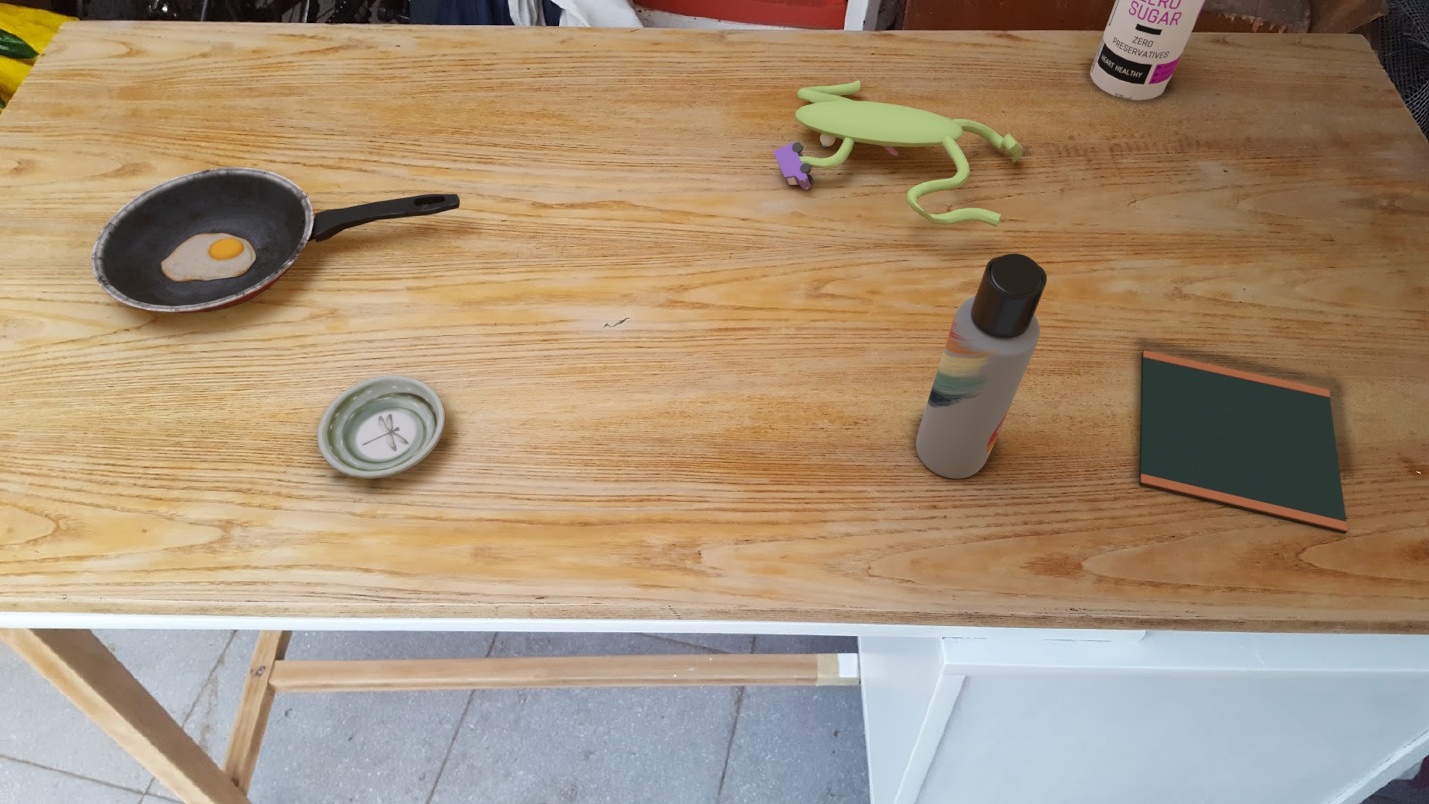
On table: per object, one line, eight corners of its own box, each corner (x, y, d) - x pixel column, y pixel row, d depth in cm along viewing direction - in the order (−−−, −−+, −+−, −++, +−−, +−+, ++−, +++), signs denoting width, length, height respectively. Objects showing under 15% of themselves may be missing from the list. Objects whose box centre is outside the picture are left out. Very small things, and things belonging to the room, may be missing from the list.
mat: (1326, 393, 79) (1329, 389, 79) (1344, 533, 71) (1348, 530, 71) (1141, 353, 82) (1143, 349, 81) (1138, 485, 73) (1141, 481, 73)
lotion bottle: (990, 430, 76) (1066, 248, 61) (982, 488, 73) (1061, 310, 57) (919, 415, 77) (977, 231, 61) (909, 471, 74) (967, 291, 58)
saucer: (302, 439, 75) (292, 421, 73) (406, 374, 79) (399, 355, 77) (369, 515, 71) (359, 498, 69) (475, 442, 75) (469, 423, 73)
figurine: (971, 277, 87) (985, 232, 83) (729, 169, 96) (731, 123, 92) (1047, 171, 96) (1064, 125, 92) (821, 82, 105) (826, 36, 101)
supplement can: (1148, 65, 108) (1204, -66, 96) (1172, 109, 103) (1233, -24, 91) (1078, 66, 108) (1125, -66, 96) (1098, 110, 103) (1150, -23, 91)
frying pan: (126, 205, 92) (107, 174, 89) (462, 165, 96) (454, 134, 93) (90, 350, 80) (67, 320, 77) (472, 297, 85) (463, 267, 82)
